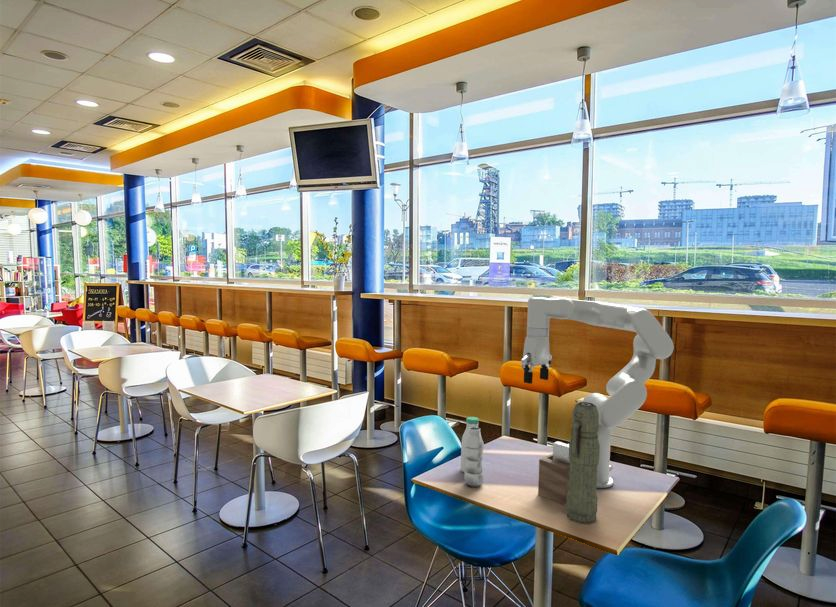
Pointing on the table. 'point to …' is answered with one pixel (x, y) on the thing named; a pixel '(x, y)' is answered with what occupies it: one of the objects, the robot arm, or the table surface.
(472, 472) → the plastic bottle
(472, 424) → the milk bottle
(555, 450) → the white block
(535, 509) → the table surface
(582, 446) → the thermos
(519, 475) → the table surface
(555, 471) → the slotted wooden block
